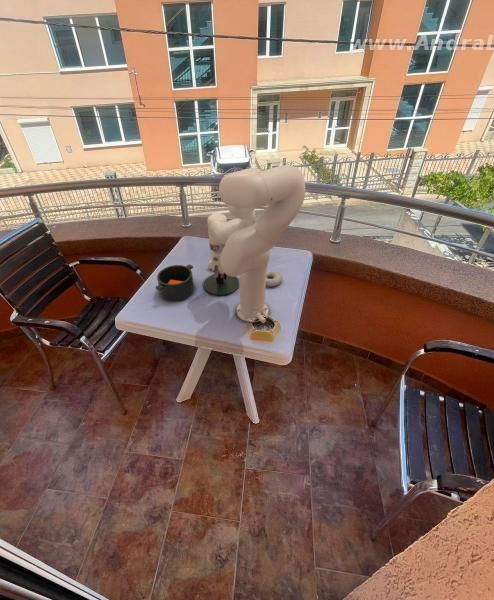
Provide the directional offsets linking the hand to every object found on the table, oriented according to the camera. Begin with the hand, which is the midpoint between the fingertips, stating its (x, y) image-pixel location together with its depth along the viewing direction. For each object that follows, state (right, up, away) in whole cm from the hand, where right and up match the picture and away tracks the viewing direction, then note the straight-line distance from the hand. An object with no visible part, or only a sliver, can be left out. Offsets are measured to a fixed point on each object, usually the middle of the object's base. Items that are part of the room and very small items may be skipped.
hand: (221, 281), depth 140 cm
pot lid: (0, -1, +1) cm, 2 cm away
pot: (-19, -4, 0) cm, 20 cm away
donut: (+22, 0, +2) cm, 22 cm away
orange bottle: (-19, -4, 0) cm, 20 cm away
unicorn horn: (0, +12, +18) cm, 22 cm away
